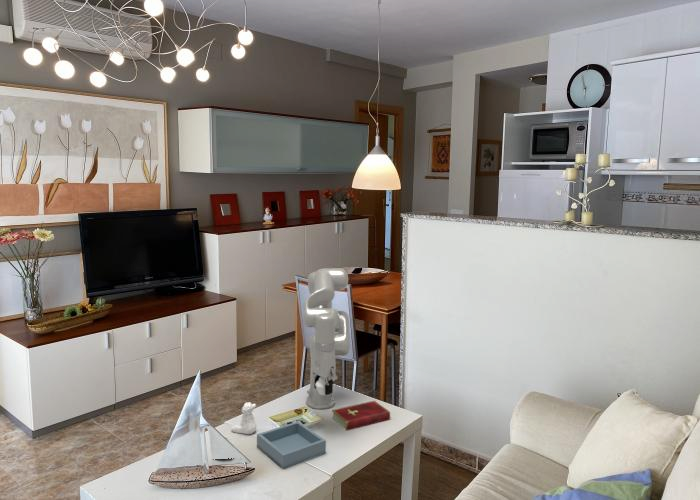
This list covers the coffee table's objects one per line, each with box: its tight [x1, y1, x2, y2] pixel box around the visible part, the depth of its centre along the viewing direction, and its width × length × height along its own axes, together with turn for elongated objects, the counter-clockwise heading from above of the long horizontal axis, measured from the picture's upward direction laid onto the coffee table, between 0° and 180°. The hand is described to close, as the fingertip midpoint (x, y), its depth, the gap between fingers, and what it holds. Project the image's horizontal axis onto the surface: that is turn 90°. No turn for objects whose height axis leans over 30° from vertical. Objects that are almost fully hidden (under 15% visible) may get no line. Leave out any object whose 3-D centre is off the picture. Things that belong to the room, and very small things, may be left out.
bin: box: [256, 421, 327, 470], centre depth 195 cm, size 18×18×5 cm
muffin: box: [316, 377, 326, 395], centre depth 206 cm, size 6×6×7 cm
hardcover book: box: [331, 400, 391, 431], centre depth 222 cm, size 12×21×4 cm, turn 121°
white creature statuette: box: [230, 401, 258, 435], centre depth 208 cm, size 10×9×12 cm
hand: (323, 390), depth 206 cm, fingers closed on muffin, 6 cm apart
